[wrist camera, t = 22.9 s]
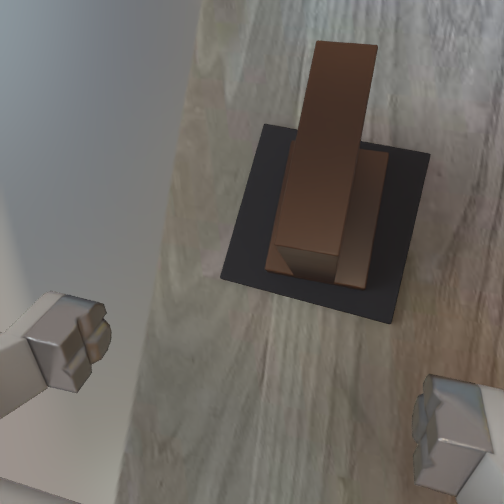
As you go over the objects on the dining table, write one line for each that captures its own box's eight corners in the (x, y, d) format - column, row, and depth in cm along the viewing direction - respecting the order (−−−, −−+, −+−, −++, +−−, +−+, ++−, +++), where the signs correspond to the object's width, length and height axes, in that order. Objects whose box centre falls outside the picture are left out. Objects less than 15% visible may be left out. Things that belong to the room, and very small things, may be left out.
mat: (390, 324, 21) (391, 324, 20) (221, 278, 23) (219, 278, 22) (429, 156, 22) (430, 153, 21) (264, 126, 24) (264, 123, 23)
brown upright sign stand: (363, 291, 21) (391, 266, 12) (266, 272, 22) (226, 236, 13) (386, 159, 22) (427, 47, 13) (292, 147, 23) (271, 36, 14)
